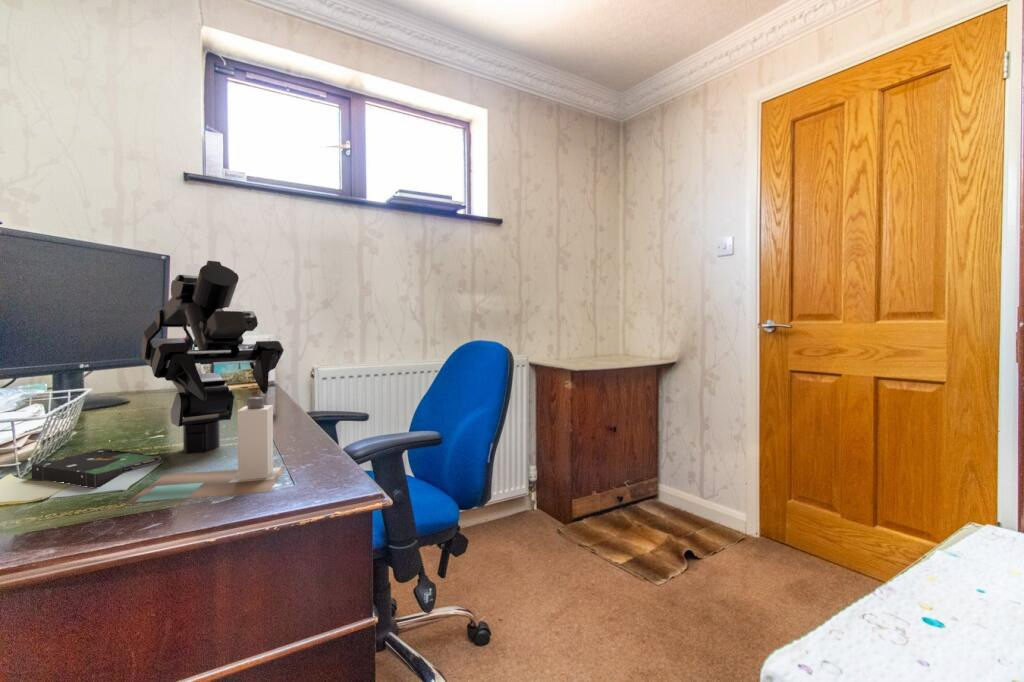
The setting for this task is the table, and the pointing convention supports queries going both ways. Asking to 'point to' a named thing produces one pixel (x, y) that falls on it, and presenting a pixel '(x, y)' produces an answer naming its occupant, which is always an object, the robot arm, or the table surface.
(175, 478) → the board
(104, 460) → the disk drive
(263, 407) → the capped white bottle
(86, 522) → the table surface
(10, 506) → the table surface
